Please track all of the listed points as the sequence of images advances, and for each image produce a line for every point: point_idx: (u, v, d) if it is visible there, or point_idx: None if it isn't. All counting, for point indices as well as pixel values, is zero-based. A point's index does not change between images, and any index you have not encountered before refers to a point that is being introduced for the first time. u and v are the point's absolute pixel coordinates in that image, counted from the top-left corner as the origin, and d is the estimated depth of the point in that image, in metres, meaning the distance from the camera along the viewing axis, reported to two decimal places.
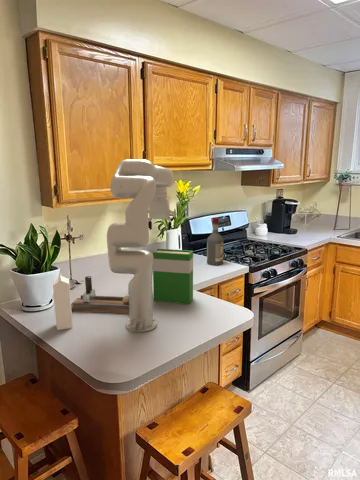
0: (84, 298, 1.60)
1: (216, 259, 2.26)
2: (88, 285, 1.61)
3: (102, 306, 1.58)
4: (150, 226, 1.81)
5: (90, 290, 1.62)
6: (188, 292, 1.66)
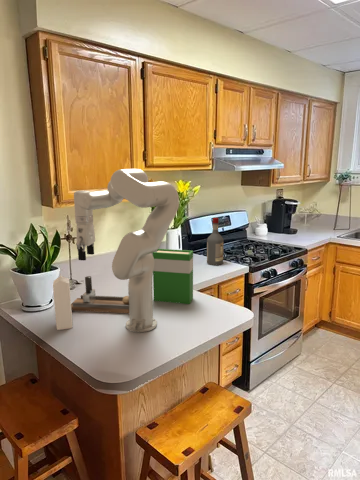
0: (84, 298, 1.60)
1: (216, 259, 2.26)
2: (88, 285, 1.61)
3: (102, 306, 1.58)
4: (85, 256, 1.54)
5: (90, 290, 1.62)
6: (188, 292, 1.66)
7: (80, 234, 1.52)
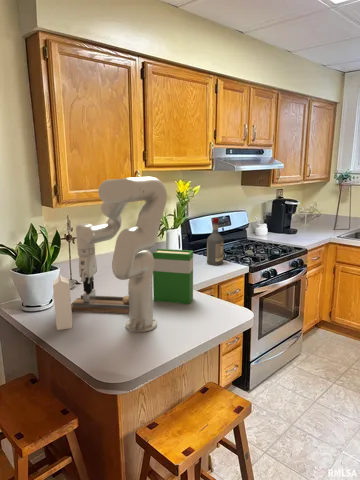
0: (84, 298, 1.60)
1: (216, 259, 2.26)
2: None
3: (102, 306, 1.58)
4: (90, 287, 1.61)
5: None
6: (188, 292, 1.66)
7: (82, 266, 1.55)
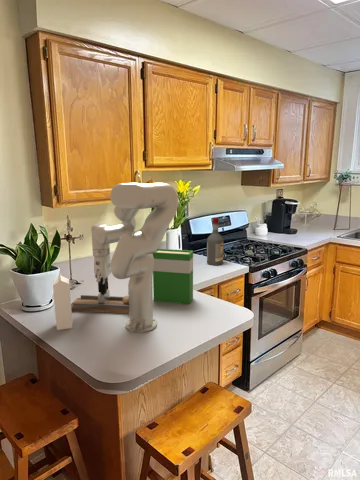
0: (99, 299, 1.59)
1: (216, 259, 2.26)
2: None
3: (102, 306, 1.58)
4: None
5: None
6: (188, 292, 1.66)
7: (98, 267, 1.54)
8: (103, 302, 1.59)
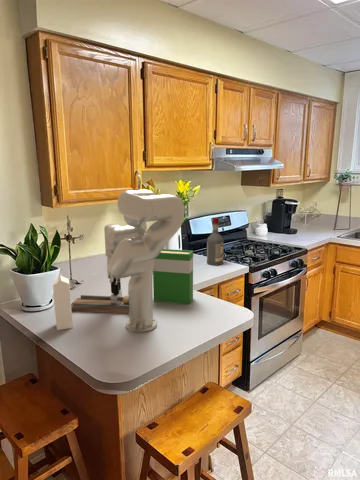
0: (112, 299, 1.58)
1: (216, 259, 2.26)
2: None
3: (102, 306, 1.58)
4: None
5: None
6: (188, 292, 1.66)
7: None
8: (116, 303, 1.58)
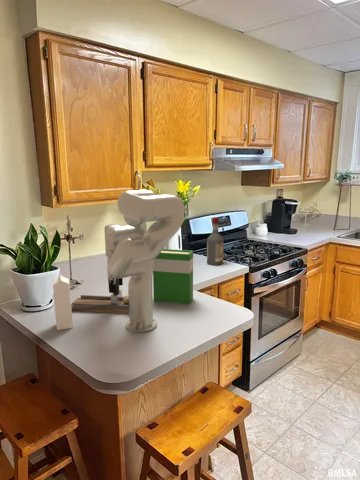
0: (112, 299, 1.58)
1: (216, 259, 2.26)
2: (116, 286, 1.59)
3: (102, 306, 1.58)
4: None
5: (117, 291, 1.60)
6: (188, 292, 1.66)
7: None
8: (116, 303, 1.58)
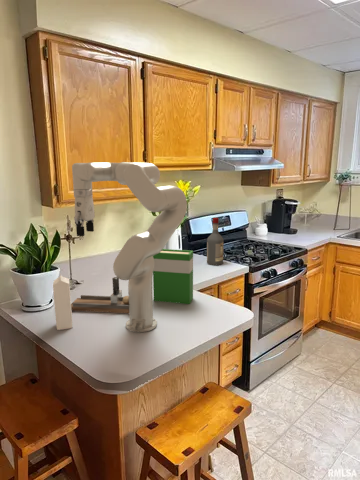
0: (112, 299, 1.58)
1: (216, 259, 2.26)
2: (116, 286, 1.59)
3: (102, 306, 1.58)
4: None
5: (117, 291, 1.60)
6: (188, 292, 1.66)
7: (78, 208, 1.45)
8: (116, 303, 1.58)
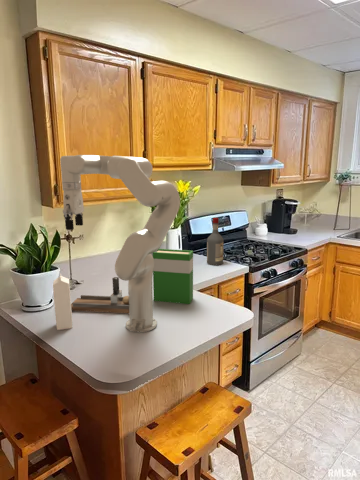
0: (112, 299, 1.58)
1: (216, 259, 2.26)
2: (116, 286, 1.59)
3: (102, 306, 1.58)
4: (73, 225, 1.45)
5: (117, 291, 1.60)
6: (188, 292, 1.66)
7: (67, 201, 1.43)
8: (116, 303, 1.58)
